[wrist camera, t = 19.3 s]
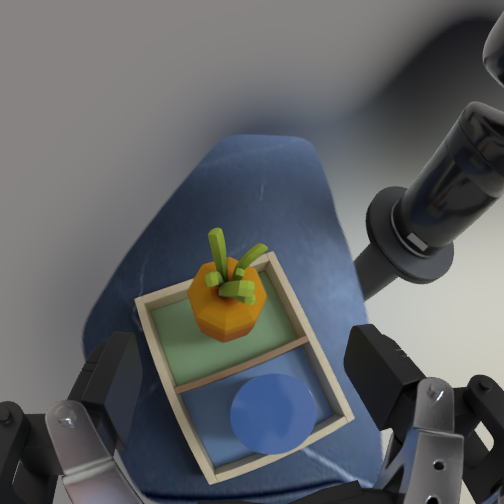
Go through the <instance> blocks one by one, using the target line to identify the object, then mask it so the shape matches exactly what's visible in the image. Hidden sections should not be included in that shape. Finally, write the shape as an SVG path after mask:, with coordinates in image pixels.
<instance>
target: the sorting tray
mask: <svg viewBox="0 0 504 504" xmlns="http://www.w3.org/2000/svg"><path fill="white" fill-rule="evenodd" d="M249 266H251V267H253V268H255V269H256V271H257V273H258V275H259V278H260V280H261V283H262V285H263V287H264V290H265V292H266V295H267V300H266V302H265V304H264V306H263V309H262V311H261V313H260V315H259V317H258V320H257V322H256V324H255V326H254V327H253V329H252V330H251V331H250V332H249V334H248V335H246V336H243V337H240V338H237V339H234V340H231V341H228V342H225V343H222V342H220V341H218V340H216V339H214V338H212V337H210V336H208V335H206V334H204V333H202V332H201V331H200V329H199V327H198V325H197V323H196V320H195V317H194V314H193V311H192V308H191V304H190V301H189V298H188V295H187V290H188V288H189V287H190V285H191V283H192V281H193V280H194V279H191V280H188V281H185V282H182V283H179V284H176V285H173V286H170V287H167V288H164V289H161V290H158V291H156V292H153V293H150V294H147V295H144V296H141V297H138V298H135V303H136V307H137V310H138V314H139V317H140V320H141V324H142V327H143V330H144V333H145V336H146V339H147V342H148V345H149V348H150V351H151V354H152V357H153V360H154V363H155V366H156V368H157V371H158V374H159V377H160V379H161V382H162V384H163V387H164V389H165V392H166V395H167V397H168V399H169V402H170V404H171V407H172V409H173V411H174V414H175V416H176V418H177V421H178V423H179V425H180V427H181V430H182V432H183V434H184V436H185V438H186V440H187V442H188V444H189V447H190V449H191V451H192V453H193V455H194V457H195V459H196V461H197V462H198V464H199V466H200V468H201V470H202V472H203V474H204V476H205V478H206V479H207V481H208V483H209V484H210V485H211V484H214V483H217V482H221V481H224V480H227V479H230V478H233V477H236V476H238V475H241V474H244V473H247V472H249V471H252V470H254V469H257V468H259V467H262V466H264V465H267V464H269V463H271V462H274V461H276V460H278V459H280V458H283V457H285V456H287V455H289V454H291V453H293V452H295V451H297V450H299V449H301V448H303V447H305V446H307V445H309V444H311V443H313V442H315V441H317V440H319V439H321V438H322V437H324V436H326V435H328V434H330V433H331V432H333V431H335V430H337V429H338V428H340V427H342V426H343V425H345V424H347V423H348V422H350V421H352V420H353V419H355V417H354V415H353V413H352V411H351V409H350V407H349V404H348V402H347V400H346V398H345V396H344V394H343V392H342V390H341V388H340V385H339V383H338V381H337V379H336V377H335V375H334V373H333V371H332V369H331V367H330V365H329V362H328V360H327V358H326V356H325V354H324V352H323V350H322V348H321V346H320V344H319V342H318V340H317V338H316V336H315V334H314V332H313V330H312V328H311V326H310V323H309V321H308V319H307V317H306V315H305V313H304V311H303V309H302V307H301V305H300V303H299V301H298V299H297V297H296V295H295V293H294V291H293V289H292V287H291V285H290V283H289V281H288V279H287V277H286V275H285V273H284V271H283V269H282V267H281V265H280V263H279V261H278V260H277V258H276V256H275V254H274V252H273V251H272V252H269V253H267V254H264V255H261V256H260V257H258V258H257V259H256V260H255V261H253V262H252V263H251V264H250V265H249ZM273 373H274V374H285V375H288V376H291V377H293V378H296V379H297V380H299V381H300V382H302V383H303V384H304V385H305V386H306V387H307V388H308V389H309V391H310V392H311V394H312V395H313V398H314V400H315V404H316V410H317V415H316V422H315V425H314V428H313V430H312V432H311V433H310V435H309V436H308V438H307V439H306V440H305V441H304V442H303V443H302V444H301V445H299V446H298V447H297V448H295V449H293V450H291V451H288V452H286V453H282V454H276V455H268V454H262V453H258V452H255V451H253V450H251V449H249V448H247V447H246V446H245V445H243V444H242V443H241V442H240V441H239V440H238V438H237V437H236V435H235V434H234V432H233V429H232V427H231V424H230V421H229V419H228V415H227V403H228V399H229V397H230V395H231V393H232V392H233V390H234V389H235V388H236V387H237V386H238V385H239V384H241V383H243V382H244V381H246V380H249V379H252V378H255V377H258V376H261V375H265V374H273Z"/></svg>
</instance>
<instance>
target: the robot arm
mask: <svg viewBox="0 0 504 504" xmlns="http://www.w3.org/2000/svg"><path fill="white" fill-rule="evenodd" d="M483 62H484V65H485V67H486V69H487V71H488V72H489V73H490V74H491V75H492V77H494V78H495V80H496V81H497V82H498V83H499V84H500V85H502V86H503V87H504V12H503V14H502V15H501V17H500V18H499V19H498V21H497V22H496V24H495V25H494V27H493V28H492V30H491V32H490V34H489V36H488V38H487V41H486V43H485V46H484V50H483ZM503 194H504V112H502V111H499V110H496V109H494V108H492V107H490V106H488V105H485V104H483V103H480V102H471V103H469V104H468V105H467V106H466V108H465V109H464V110H463V112H462V114H461V115H460V117H459V118H458V120H457V121H456V123H455V125H454V126H453V127H452V129H451V130H450V132H449V133H448V135H447V136H446V138H445V139H444V141H443V142H442V143H441V145H440V146H439V148H438V149H437V151H436V152H435V153H434V155H433V156H432V157H431V159H430V160H429V162H428V163H427V164H426V166H425V167H424V168H423V170H422V171H421V173H420V174H419V175H418V176H417V178H416V179H415V180H414V182H413V183H412V184H411V186H410V187H409V188H408V189H407V190H406V192H405V193H404V194H403V196H402V197H401V198H400V199H399V201H397V202H396V203H395V204H394V206H393V207H392V209H391V211H390V225H391V228H392V231H393V233H394V235H395V237H396V239H397V240H398V242H399V243H400V244H401V245H402V246H403V247H404V248H405V249H406V250H407V251H408V252H409V253H411V254H412V255H414V256H416V257H418V258H422V259H431V258H433V257H435V256H436V255H437V254H438V253H439V252H440V251H441V250H442V249H443V248H445V247H446V246H447V245H448V244H449V243H451V242H452V241H453V240H454V239H456V238H457V237H458V236H459V235H460V234H461V233H462V232H464V231H465V230H466V229H467V228H468V227H469V226H470V225H472V223H474V222H475V221H476V220H477V219H478V218H479V217H480V216H481V215H482V214H483V213H485V212H486V211H487V210H488V209H489V208H490V207H491V206H492V205H493V204H494V203H495V202H496V201H497V200H498V199H499V198H500V197H501V196H502V195H503ZM344 369H345V372H346V374H347V376H348V377H349V379H350V381H351V382H352V384H353V386H354V388H355V389H356V391H357V393H358V394H359V396H360V398H361V400H362V401H363V403H364V405H365V407H366V408H367V410H368V412H369V414H370V415H371V417H372V419H373V421H374V422H375V424H376V426H377V428H378V429H379V431H382V430H385V429H388V428H392V430H393V433H392V435H391V437H390V440H389V444H388V448H387V451H386V455H385V459H384V462H383V465H382V469H381V472H380V475H379V477H378V479H377V481H376V483H375V484H374V486H373V488H361V487H360V484H359V482H358V480H356V481H352V482H349V483H345V484H341V485H337V486H334V487H329V488H325V489H321V490H319V491H317V492H315V493H313V494H310V495H308V496H306V497H303V498H301V499H298V500H296V501H293V502H291V503H288V504H459V501H460V493H461V485H462V479H463V481H464V483H465V485H466V486H467V488H468V490H469V492H470V494H471V495H472V497H473V499H474V501H475V503H476V504H504V391H503V390H502V388H501V387H499V385H498V384H497V383H496V382H495V381H494V380H493V379H492V378H490V377H488V376H485V375H475V376H473V377H472V378H471V379H470V381H469V383H468V385H467V387H461V388H452V387H451V386H450V385H449V384H448V383H447V382H446V381H444V380H442V379H440V378H435V377H428V378H427V377H426V376H425V375H424V374H423V373H422V372H421V371H420V369H419V368H418V367H417V366H416V365H415V364H414V362H413V361H412V360H411V359H410V358H409V357H407V354H406V353H405V352H404V351H403V350H401V348H400V347H399V345H397V343H396V342H395V341H394V340H392V339H391V338H389V337H387V336H386V335H382V334H381V333H380V332H379V331H378V329H377V328H376V327H375V326H374V325H373V324H365V325H356V326H353V327H352V329H351V331H350V335H349V340H348V344H347V348H346V352H345V355H344ZM141 383H142V364H141V360H140V355H139V351H138V346H137V341H136V337H135V334H134V333H133V332H117V331H114V332H113V333H112V334H111V336H110V338H109V340H108V342H107V344H100V345H99V346H97V347H96V348H95V349H94V350H93V351H91V353H90V355H89V357H88V358H87V360H86V363H85V364H84V366H83V368H82V371H81V372H80V374H79V376H78V378H77V380H76V382H75V384H74V386H73V388H72V390H71V392H70V394H69V396H68V399H67V400H62V401H59V402H56V403H55V404H53V405H52V406H51V407H50V408H49V409H48V410H47V412H46V414H24V413H23V411H22V409H21V408H20V406H19V405H18V404H16V403H14V402H10V401H5V402H1V403H0V504H52V503H53V498H54V493H55V489H56V484H57V479H58V475H64V476H62V482H63V485H64V487H65V490H66V492H67V494H68V496H69V498H70V500H71V502H72V504H144V503H143V501H142V500H141V499H140V497H139V496H138V494H137V493H136V492H135V490H134V489H133V487H132V486H131V485H130V483H129V482H128V480H127V479H126V477H125V476H124V474H123V473H122V471H121V470H120V468H119V467H118V465H117V463H116V462H115V460H114V459H113V456H114V451H115V449H121V450H126V448H127V443H128V438H129V433H130V429H131V424H132V420H133V415H134V411H135V407H136V403H137V399H138V395H139V391H140V387H141ZM480 421H482V423H483V424H484V426H485V427H486V428H487V430H488V431H489V432H490V434H491V435H492V437H493V439H494V445H493V448H492V449H491V451H490V452H489V451H488V449H487V448H486V446H485V445H484V443H483V442H482V440H481V439H480V438H479V436H478V435H477V433H476V432H475V431H474V429H475V428H476V427H477V425H478V424H479V423H480ZM18 462H20V463H19V466H18V469H17V472H16V475H15V478H14V474H15V471H16V468H17V465H18ZM13 478H14V481H13ZM12 481H13V485H12ZM198 504H263V503H253V502H245V501H220V502H199V501H198Z"/></svg>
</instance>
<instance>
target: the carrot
mask: <svg viewBox="0 0 504 504" xmlns="http://www.w3.org/2000/svg"><path fill="white" fill-rule="evenodd" d="M208 238H209V243H210V246H211V250H212V254H213V258H214V261H213V262H210V263H207V264H203V265H202V266H201V268H200V269H199V271H198V273H197V275H196V276H195V278H194V280H193V281H192V283H191V285H190V287H189V288H188V290H187V295H188V298H189V301H190V304H191V308H192V311H193V314H194V317H195V320H196V323H197V325H198V327H199V329H200V331H201V332H202V333H204V334H206V335H208V336H210V337H212V338H214V339H216V340H218V341H220V342H222V343H225V342H228V341H231V340H234V339H237V338H240V337H243V336H246V335H248V334H249V332H250V331H251V330H252V329H253V327H254V326H255V324H256V322H257V320H258V317H259V315H260V313H261V311H262V309H263V306H264V304H265V302H266V300H267V295H266V292H265V290H264V287H263V285H262V283H261V280H260V278H259V275H258V273H257V271H256V269H255V268H253V267H251V266H249V265H250V264H251V263H252V262H253V261H255V260H256V259H257V258H258V257H260V256H261V255H262V254H263V253H264V252H266V251H267V250H268V247H267V246H266V245H264V244H260V243H258V244H256V245H255V246H253V247H252V248H251V249H250V250H249V251H247V252H246V253H245V255H244V256H243V257H242V258H241V259H240V260H239V261H238V260H236V259H233V258H231V257H226V245H225V240H224V235H223V232H222V229H220V228H214V229H212V230H211V231H210V232H209V234H208Z"/></svg>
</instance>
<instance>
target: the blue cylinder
mask: <svg viewBox="0 0 504 504" xmlns="http://www.w3.org/2000/svg"><path fill="white" fill-rule="evenodd" d="M227 415H228V419H229V421H230V424H231V427H232V429H233V432H234V434H235V435H236V437H237V438H238V440H239V441H240V442H241V443H242V444H243V445H245V446H246V447H247V448H249V449H251V450H253V451H255V452H258V453H262V454H268V455H276V454H282V453H286V452H288V451H291V450H293V449H295V448H297V447H298V446H299V445H301V444H302V443H303V442H304V441H305V440H306V439H307V438H308V436H309V435H310V433H311V432H312V430H313V428H314V425H315V422H316V415H317V410H316V404H315V400H314V398H313V395H312V394H311V392H310V391H309V389H308V388H307V387H306V386H305V385H304V384H303V383H302V382H300V381H299V380H297V379H296V378H293V377H291V376H288V375H285V374H274V373H273V374H265V375H261V376H258V377H255V378H252V379H249V380H246V381H244V382H243V383H241V384H239V385H238V386H237V387H236V388H235V389H234V390H233V392H232V393H231V395H230V397H229V399H228V403H227Z"/></svg>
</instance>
